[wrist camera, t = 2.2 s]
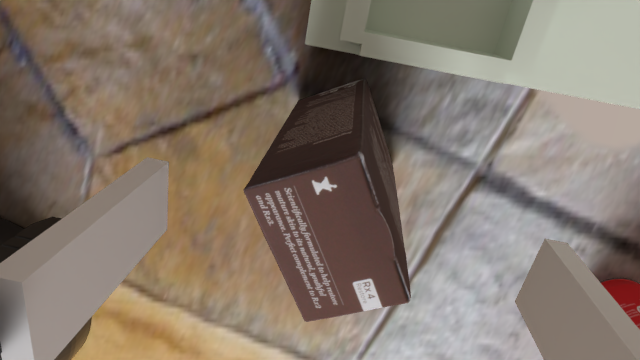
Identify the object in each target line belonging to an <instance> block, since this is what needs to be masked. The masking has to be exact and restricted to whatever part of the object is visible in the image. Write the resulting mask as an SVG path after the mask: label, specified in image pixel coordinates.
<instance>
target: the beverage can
mask: <svg viewBox="0 0 640 360" xmlns="http://www.w3.org/2000/svg"><path fill="white" fill-rule="evenodd" d="M600 283H601V284H602V285H603V286H604V288H605V289H606V290H607V291H608V292H609V294H610V295H611V296H612V297H613V298H614V300H615V301H616V302H617V303H618V304H619V306H620V307H621V308H622V309H623V310H624V312H625V313H626V314H627V315H628V316H629V318H630V319H631V320H632V321H633V322H634V324H635V325H636V326H637V327H638V328H639V329H640V284H639V283H637V282H635V281H633V280H629V279H624V278H615V279H608V280H605V281H602V282H600Z"/></svg>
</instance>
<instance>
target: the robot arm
mask: <svg viewBox="0 0 640 360" xmlns="http://www.w3.org/2000/svg"><path fill="white" fill-rule="evenodd" d="M168 169H169V162H167V161H162V160H157V159H152V158H146V159H144V160H143V161H142V162H140V163H139V164H137V165H136V166H135V167H133V168H132V169H130V170H129V171H128V172H126V173H125V174H124V175H122V176H121V177H119V178H118V179H117V180H115V181H114V182H112V183H111V184H110V185H108V186H107V187H105V188H104V189H103V190H101V191H100V192H99V193H97V194H96V195H94V196H93V197H92V198H90V199H89V200H87V201H86V202H85V203H83V204H82V205H80V206H79V207H78V208H76V209H75V210H73V211H72V212H71V213H69V214H68V215H67V216H65V217H64V218H62V219H61V218H56V217H50V218H48V219H45V220H42V221H39V222H37V223H34V224H31V225H30V226H28V227H27V228H25V229H23V228H21V227H20V226H18V225H16V224H14V223H11V222H9V221H7V220H4V219H2V218H0V360H71V359H72V358H73V357H74V356H75V354H76V353H77V352H78V351H79V349H80V348H81V347H82V346H83V344H84V342H85V341H86V339H87V336H88V333H89V329H90V321H91V317H92V315H93V314H94V313H95V312H96V311H97V310H98V309H99V307H100V306H101V305H102V304H103V303H104V302H105V300H106V299H107V298H108V297H109V296H110V295H111V294H112V292H113V291H114V290H115V289H116V288H117V287H118V285H119V284H120V283H121V282H122V281H123V280H124V279H125V277H126V276H127V275H128V274H129V273H130V272H131V270H132V269H133V268H134V267H135V266H136V265H137V264H138V262H139V261H140V260H141V259H142V258H143V257H144V255H145V254H146V253H147V252H148V251H149V250H150V249H151V247H152V246H153V245H154V244H155V243H156V242H157V240H158V239H159V238H160V237H161V236H162V235H163V234H164V232H165V231H166V230H167V212H168ZM515 303H516V305H517V307H518V309H519V311H520V313H521V315H522V317H523V319H524V321H525V323H526V325H527V327H528V329H529V331H530V333H531V335H532V337H533V339H534V341H535V343H536V345H537V347H538V349H539V351H540V353H541V355H542V357H543V359H544V360H640V329H639V328H638V327H637V326H636V325H635V324H634V322H633V321H632V320H631V319H630V318H629V316H628V315H627V314H626V313H625V312H624V310H623V309H622V308H621V307H620V306H619V304H618V303H617V302H616V301H615V300H614V298H613V297H612V296H611V295H610V294H609V292H608V291H607V290H606V289H605V288H604V286H603V285H602V284H601V283H600V282H599V280H598V279H597V278H596V277H595V276H594V274H593V273H592V272H591V271H590V270H589V268H588V267H587V266H586V265H585V264H584V262H583V261H582V260H581V259H580V258H579V256H578V255H577V254H576V253H575V252H574V250H573V249H572V248H571V247H570V246H569V244H568V243H564V242H559V241H554V240H549V239H545V240H544V242H543V244H542V246H541V248H540V250H539V252H538V254H537V256H536V258H535V261H534V263H533V265H532V267H531V269H530V271H529V273H528V275H527V277H526V279H525V281H524V284H523V286H522V288H521V290H520V292H519V294H518V296H517V298H516V300H515Z"/></svg>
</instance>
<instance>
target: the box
mask: <svg viewBox="0 0 640 360" xmlns="http://www.w3.org/2000/svg"><path fill="white" fill-rule="evenodd" d="M244 193H245V195H246V197H247V199H248V201H249V203H250V206H251V208H252V210H253V212H254V214H255V217H256V219H257V221H258V223H259V225H260V227H261V230H262V232H263V234H264V237H265V239H266V241H267V243H268V245H269V247H270V249H271V251H272V253H273V255H274V257H275V259H276V262H277V264H278V266H279V268H280V270H281V272H282V274H283V276H284V278H285V281H286V283H287V285H288V287H289V289H290V291H291V293H292V295H293V297H294V299H295V302H296V304H297V306H298V308H299V310H300V312H301V314H302V317H303V319H304V321H306V322H308V321H315V320H320V319H326V318H331V317H337V316H342V315H347V314H352V313H357V312H362V311H367V310H372V309H377V308H382V307H387V306H393V305H399V304H405V303H408V302H409V301H410V298H411V294H410V284H409V276H408V269H407V261H406V253H405V249H404V242H403V235H402V227H401V220H400V212H399V205H398V199H397V191H396V184H395V178H394V172H393V165H392V162H391V158H390V154H389V151H388V147H387V144H386V141H385V138H384V134H383V131H382V127H381V124H380V121H379V118H378V114H377V111H376V108H375V105H374V102H373V98H372V95H371V92H370V89H369V86H368V83H367V81H366V79H362V80H358V81H353V82H351V83H348V84H346V85H342V86H340V87H336V88H333V89H331V90H328V91H325V92H322V93H319V94H316V95H314V96H310V97H307V98H304V99H302V100H299V101H298V102H297V104H296V105H295V107H294V109H293V110H292V112H291V114H290V115H289V117H288V119H287V120H286V122H285V123H284V125H283V127H282V128H281V130H280V132H279V133H278V135H277V137H276V138H275V140H274V141H273V143H272V145H271V147H270V148H269V150H268V151H267V153H266V155H265V156H264V158H263V159H262V161H261V163H260V165H259V166H258V168H257V169H256V171H255V173H254V174H253V176H252V178H251V179H250V181H249V183H248V184H247V186H246V187H245V188H244Z"/></svg>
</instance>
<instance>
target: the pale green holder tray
mask: <svg viewBox="0 0 640 360" xmlns="http://www.w3.org/2000/svg"><path fill="white" fill-rule="evenodd" d="M305 44H306V45H311V46H316V47H322V48H327V49H332V50H337V51H342V52H347V53H353V54H358V55H360V56H364V57H369V58H374V59H380V60H385V61H390V62H395V63H400V64H405V65H410V66H416V67H421V68H426V69H431V70H436V71H441V72H446V73H452V74H457V75H462V76H467V77H472V78H477V79H482V80H488V81H493V82H498V83H507V84H512V85H517V86H522V87H527V88H533V89H538V90H543V91H548V92H553V93H558V94H563V95H569V96H574V97H579V98H584V99H589V100H595V101H600V102H605V103H610V104H615V105H620V106H625V107H630V108H636V109H640V0H311V7H310V13H309V20H308V26H307V33H306V39H305Z"/></svg>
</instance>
